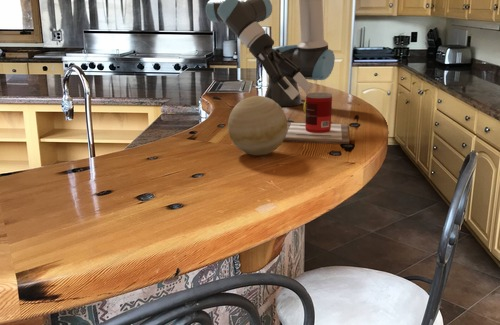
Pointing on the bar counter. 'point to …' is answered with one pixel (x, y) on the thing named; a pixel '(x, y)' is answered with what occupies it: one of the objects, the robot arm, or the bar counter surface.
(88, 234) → the bar counter surface
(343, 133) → the clipboard
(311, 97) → the canned food
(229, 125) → the decorative ball
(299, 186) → the bar counter surface
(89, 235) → the bar counter surface
